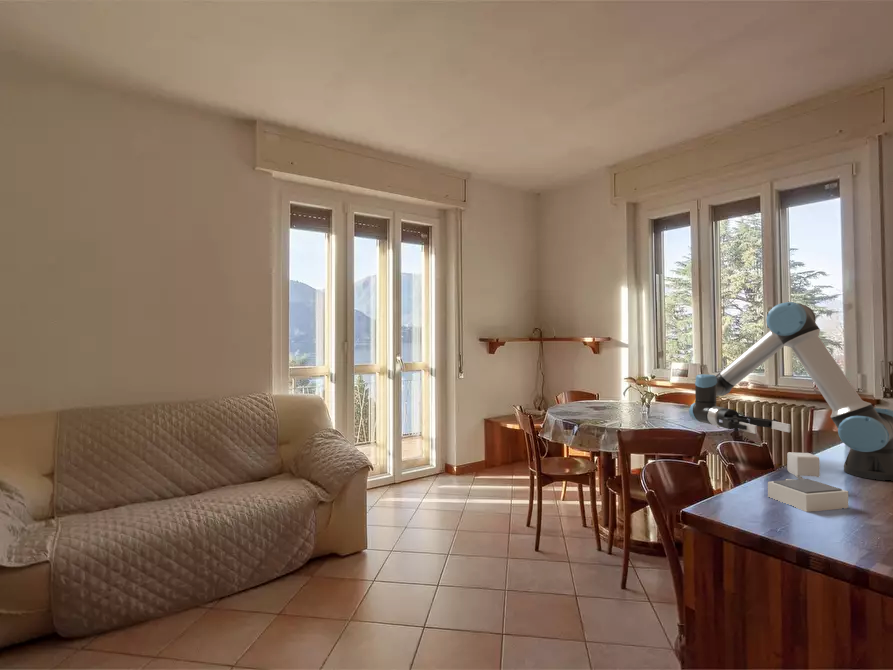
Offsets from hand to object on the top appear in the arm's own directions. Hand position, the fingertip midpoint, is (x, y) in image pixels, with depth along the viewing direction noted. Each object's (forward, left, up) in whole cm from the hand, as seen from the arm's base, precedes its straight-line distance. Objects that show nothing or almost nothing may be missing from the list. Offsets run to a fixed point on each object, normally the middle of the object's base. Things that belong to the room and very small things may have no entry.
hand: (772, 429), depth 160 cm
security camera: (0, +10, -16) cm, 19 cm away
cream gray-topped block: (+13, +23, -16) cm, 31 cm away
